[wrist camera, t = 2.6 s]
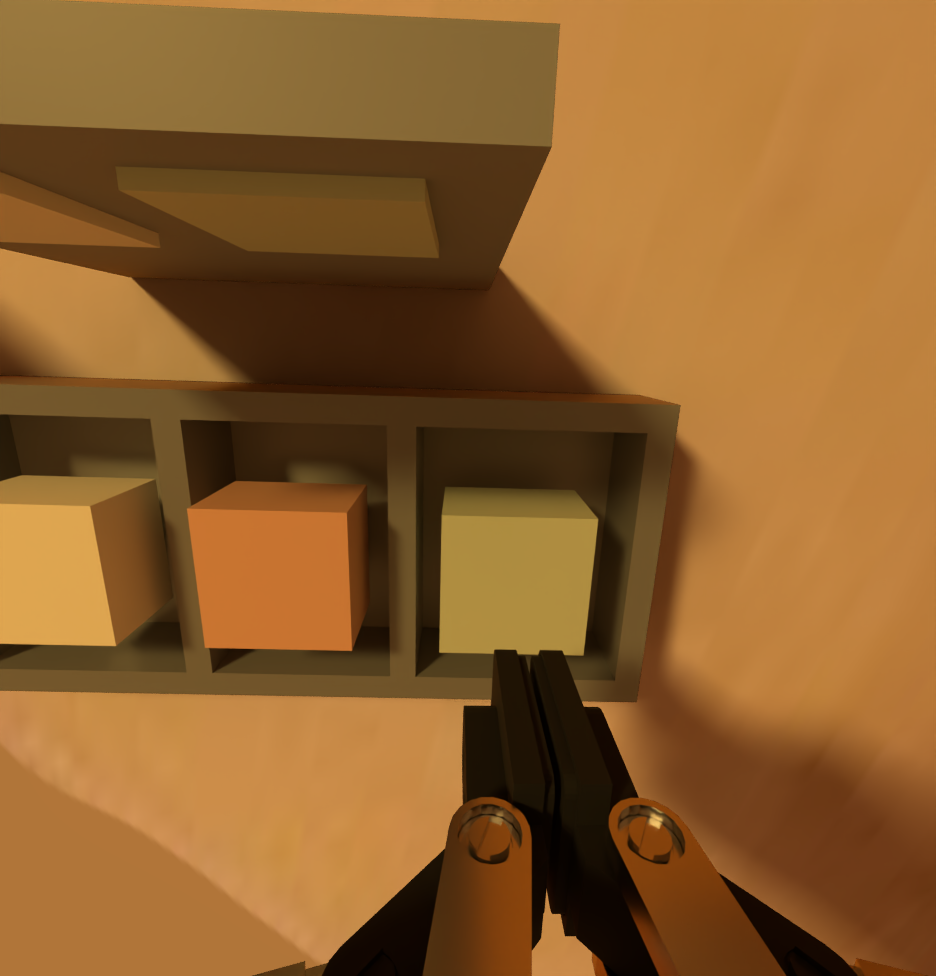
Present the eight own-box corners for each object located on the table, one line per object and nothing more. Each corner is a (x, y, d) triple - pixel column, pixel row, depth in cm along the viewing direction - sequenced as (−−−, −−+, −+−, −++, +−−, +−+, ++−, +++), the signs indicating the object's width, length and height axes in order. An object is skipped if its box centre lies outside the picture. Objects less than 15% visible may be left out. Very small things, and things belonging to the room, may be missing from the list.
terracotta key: (235, 481, 19) (186, 508, 15) (366, 484, 19) (346, 512, 15) (247, 599, 20) (205, 647, 17) (369, 601, 20) (351, 650, 17)
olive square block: (445, 486, 19) (441, 515, 15) (574, 490, 19) (598, 519, 16) (443, 603, 20) (439, 652, 17) (563, 606, 20) (583, 655, 17)
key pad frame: (-16, 374, 20) (-131, 379, 16) (639, 395, 20) (680, 405, 17) (43, 633, 23) (-41, 689, 19) (608, 645, 24) (636, 702, 20)
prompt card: (125, 243, 19) (-748, -38, 5) (490, 257, 19) (560, 23, 5) (131, 285, 19) (-666, 126, 6) (488, 298, 19) (549, 175, 6)
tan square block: (21, 475, 18) (-74, 501, 15) (156, 479, 19) (89, 506, 15) (48, 594, 20) (-34, 642, 16) (172, 597, 20) (115, 645, 17)
